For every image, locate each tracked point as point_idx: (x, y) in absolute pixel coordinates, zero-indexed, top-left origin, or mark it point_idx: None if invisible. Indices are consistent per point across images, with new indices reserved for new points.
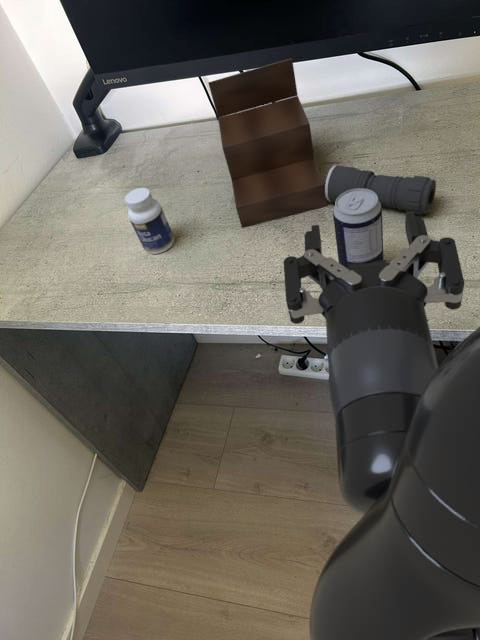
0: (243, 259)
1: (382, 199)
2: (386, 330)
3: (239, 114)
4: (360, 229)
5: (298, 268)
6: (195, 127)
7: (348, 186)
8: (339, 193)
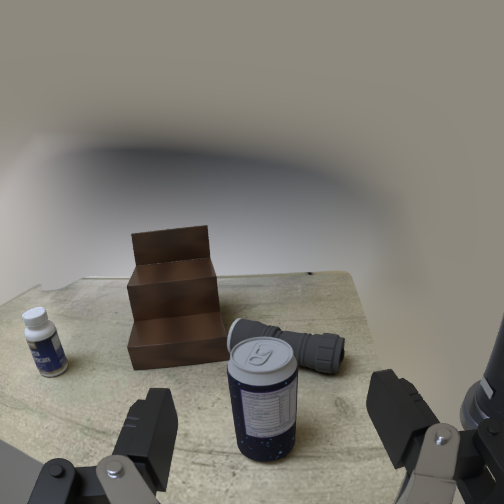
0: (124, 405)
1: None
2: None
3: (154, 265)
4: (266, 394)
5: (79, 498)
6: None
7: None
8: None
